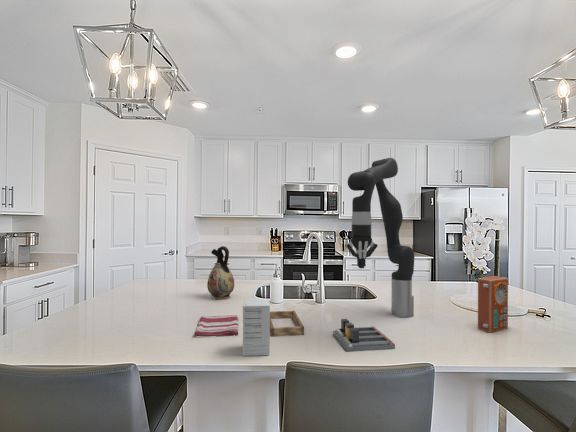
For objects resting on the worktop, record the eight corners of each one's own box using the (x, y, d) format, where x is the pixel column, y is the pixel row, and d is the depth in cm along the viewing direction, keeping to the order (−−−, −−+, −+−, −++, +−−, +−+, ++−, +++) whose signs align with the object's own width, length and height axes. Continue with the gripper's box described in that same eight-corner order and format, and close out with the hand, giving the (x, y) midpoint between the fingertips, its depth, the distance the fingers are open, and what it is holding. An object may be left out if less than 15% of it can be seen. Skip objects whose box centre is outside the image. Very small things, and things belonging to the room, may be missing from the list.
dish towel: (193, 339, 125) (193, 332, 125) (200, 320, 149) (200, 314, 149) (238, 337, 128) (238, 330, 128) (238, 318, 151) (238, 312, 151)
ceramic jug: (201, 298, 185) (201, 246, 185) (221, 293, 198) (221, 244, 198) (222, 303, 175) (222, 247, 175) (241, 297, 188) (242, 245, 188)
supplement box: (269, 355, 109) (270, 305, 109) (242, 356, 109) (242, 306, 109) (269, 344, 119) (269, 298, 119) (243, 345, 118) (244, 299, 118)
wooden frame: (294, 317, 152) (294, 310, 152) (304, 334, 129) (304, 327, 129) (266, 318, 150) (266, 311, 150) (271, 336, 127) (271, 328, 127)
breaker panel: (375, 332, 132) (376, 316, 132) (395, 348, 116) (395, 330, 116) (333, 334, 129) (333, 318, 129) (346, 351, 113) (346, 332, 113)
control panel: (511, 328, 138) (490, 334, 131) (494, 323, 144) (473, 328, 137) (511, 277, 138) (490, 280, 131) (494, 275, 144) (473, 277, 137)
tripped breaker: (351, 336, 123) (351, 322, 123) (354, 338, 121) (354, 325, 121) (345, 336, 123) (345, 322, 123) (347, 339, 120) (347, 325, 120)
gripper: (373, 223, 131) (373, 266, 131) (342, 223, 130) (341, 266, 129) (381, 223, 124) (381, 269, 124) (348, 223, 122) (348, 269, 122)
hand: (361, 267), depth 127 cm, fingers closed
